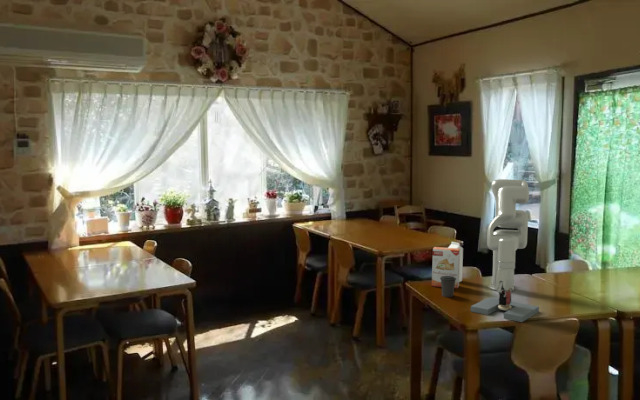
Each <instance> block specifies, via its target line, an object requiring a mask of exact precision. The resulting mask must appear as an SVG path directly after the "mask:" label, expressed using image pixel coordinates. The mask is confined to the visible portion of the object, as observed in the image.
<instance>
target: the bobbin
mask: <svg viewBox="0 0 640 400" xmlns="http://www.w3.org/2000/svg"><path fill="white" fill-rule="evenodd" d="M502 290H504V289H503V288H502ZM502 292H503V293H504V291H502ZM510 296H511V297H512V294H511V288H509V289H508V290H506V306H504V305H498V308H499V309H498V310H502V311H508V310H510V309H511V306H509V304H510Z"/></svg>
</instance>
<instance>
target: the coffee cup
mask: <svg viewBox="0 0 640 400" xmlns="http://www.w3.org/2000/svg"><path fill="white" fill-rule="evenodd" d="M440 279H441V287H440V288H441V296H442V297H444V298H452V297H454V293H455V288H454V286H455V280H456V278H455V277H452V276H442V277H441V278H440Z"/></svg>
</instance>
